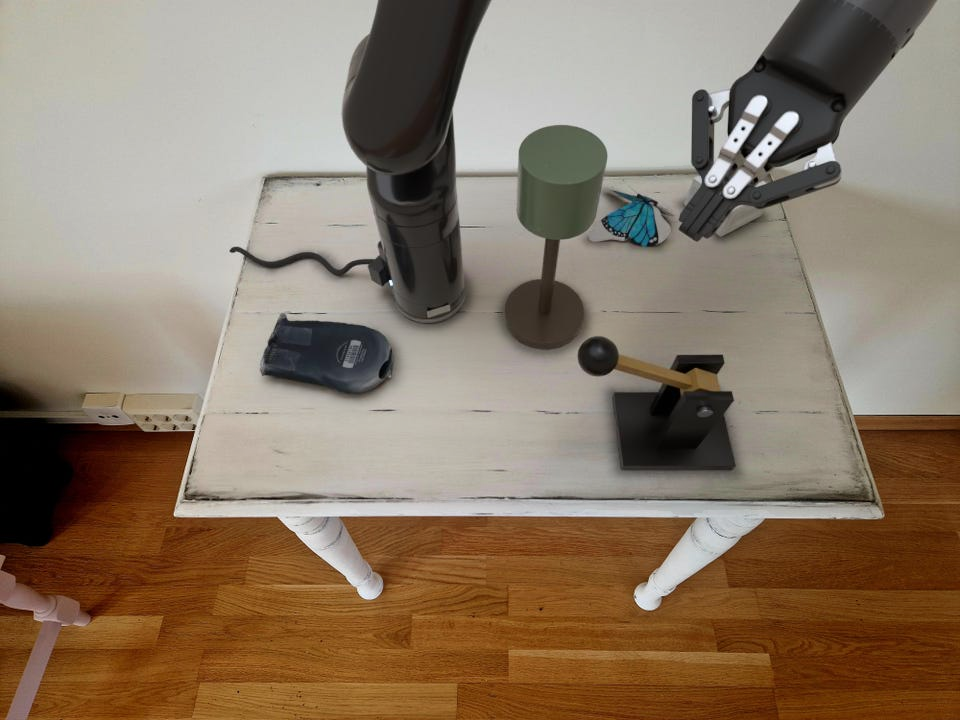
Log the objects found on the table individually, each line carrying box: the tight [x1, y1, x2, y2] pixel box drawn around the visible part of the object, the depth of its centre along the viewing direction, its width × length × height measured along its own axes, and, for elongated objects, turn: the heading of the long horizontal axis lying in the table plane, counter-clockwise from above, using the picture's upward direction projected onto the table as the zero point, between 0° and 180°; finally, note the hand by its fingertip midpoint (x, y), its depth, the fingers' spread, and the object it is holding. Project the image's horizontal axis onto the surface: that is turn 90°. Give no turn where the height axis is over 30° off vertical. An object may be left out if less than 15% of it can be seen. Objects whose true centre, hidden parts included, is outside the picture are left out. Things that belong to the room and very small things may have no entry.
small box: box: [683, 171, 768, 238], centre depth 80 cm, size 8×8×5 cm
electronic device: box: [259, 312, 394, 395], centre depth 69 cm, size 9×6×15 cm
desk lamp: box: [504, 124, 609, 351], centre depth 62 cm, size 10×10×26 cm
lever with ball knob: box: [577, 335, 721, 396], centre depth 53 cm, size 15×4×4 cm, turn 89°
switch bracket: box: [612, 354, 737, 471], centre depth 59 cm, size 12×9×13 cm
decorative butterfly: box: [587, 179, 675, 248], centre depth 79 cm, size 10×6×10 cm
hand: (688, 235), depth 46 cm, fingers closed
